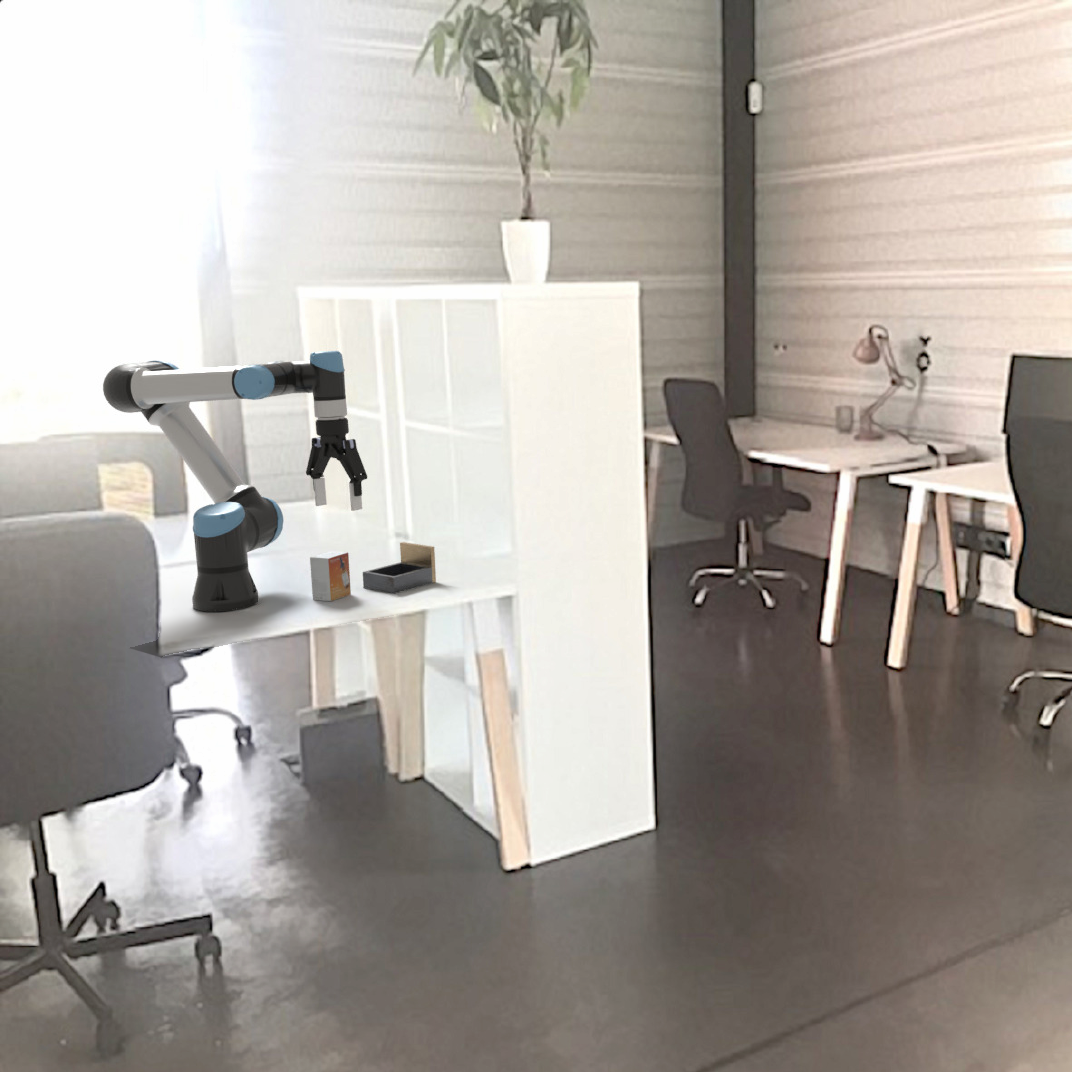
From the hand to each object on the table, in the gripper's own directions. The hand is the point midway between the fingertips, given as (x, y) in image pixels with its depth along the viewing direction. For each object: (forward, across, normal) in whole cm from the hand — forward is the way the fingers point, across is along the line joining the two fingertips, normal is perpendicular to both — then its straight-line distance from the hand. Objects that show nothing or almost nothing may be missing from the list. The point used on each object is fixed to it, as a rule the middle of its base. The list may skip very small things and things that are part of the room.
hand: (338, 507), depth 280 cm
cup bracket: (+22, -2, -14) cm, 26 cm away
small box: (+22, +2, +3) cm, 22 cm away
